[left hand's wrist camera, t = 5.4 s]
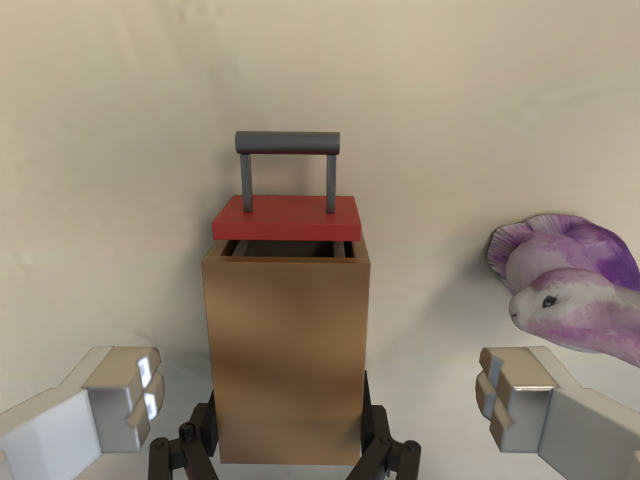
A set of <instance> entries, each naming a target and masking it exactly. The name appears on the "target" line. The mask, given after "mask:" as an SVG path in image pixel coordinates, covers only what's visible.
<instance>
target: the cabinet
mask: <svg viewBox="0 0 640 480" xmlns="http://www.w3.org/2000/svg"><path fill="white" fill-rule="evenodd" d="M239 241H240V240H216V241H215V243H214V244H213V246H212V247H211V248H210V250H209V251H208V253H207V254H206V256H205V257H204V259H203V260H202V262H201V264H202V275H203V285H204V295H205V306H206V316H207V326H208V337H209V347H210V357H211V368H212V378H213V388H214V399H215V409H216V419H217V429H218V440H219V450H220V461H221V463H232V464H301V465H356V464H357V463H358V461H359V460H360V444H361V424H362V408H363V391H364V373H365V355H366V337H367V320H368V302H369V284H370V266H371V264H370V260H369V256H368V253H367V249H366V245H365V241H364V237H363V233H362V229H361V240H360V241H343V242H344V250H345V258H329V257H247V256H232V254H233V252H234V250H235V248H236V246H237V245H238V243H239Z"/></svg>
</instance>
